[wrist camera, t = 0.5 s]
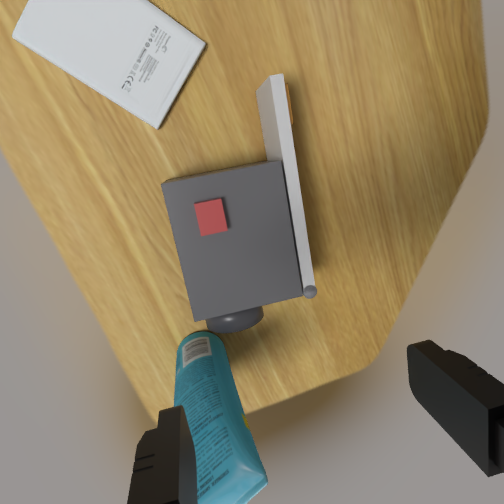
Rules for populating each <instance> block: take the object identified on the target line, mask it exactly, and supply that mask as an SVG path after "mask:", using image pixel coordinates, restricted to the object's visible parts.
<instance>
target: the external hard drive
mask: <svg viewBox="0 0 504 504" xmlns="http://www.w3.org/2000/svg"><path fill="white" fill-rule="evenodd" d="M12 37H13V38H14V39H15V40H16V41H18V42H19V43H21V44H22V45H24V46H26V47H27V48H29V49H30V50H32V51H33V52H35V53H37V54H38V55H40V56H41V57H43V58H45V59H46V60H48V61H49V62H51V63H53V64H54V65H56V66H57V67H59V68H61V69H62V70H64V71H65V72H67V73H68V74H70V75H72V76H73V77H75V78H76V79H78V80H79V81H81V82H83V83H84V84H86V85H87V86H89V87H91V88H92V89H94V90H95V91H97V92H98V93H100V94H102V95H103V96H105V97H106V98H108V99H110V100H111V101H113V102H114V103H116V104H117V105H119V106H121V107H122V108H124V109H125V110H127V111H129V112H130V113H132V114H133V115H135V116H136V117H138V118H140V119H141V120H143V121H144V122H146V123H148V124H149V125H151V126H152V127H154V128H155V129H157V130H158V129H159V127H160V125H161V123H162V122H163V120H164V118H165V116H166V115H167V113H168V111H169V109H170V107H171V106H172V104H173V102H174V100H175V99H176V97H177V95H178V93H179V91H180V89H181V87H182V86H183V84H184V82H185V81H186V79H187V77H188V76H189V74H190V72H191V70H192V69H193V67H194V65H195V63H196V62H197V60H198V58H199V56H200V55H201V53H202V51H203V49H204V48H205V44H206V43H205V42H203V41H202V40H201V39H199V38H198V37H197V36H195V35H194V34H192V33H191V32H190V31H188V30H187V29H186V28H184V27H183V26H182V25H180V24H179V23H177V22H176V21H175V20H173V19H172V18H171V17H169V16H168V15H167V14H165V13H164V12H163V11H161V10H160V9H159V8H157V7H156V6H154V5H153V4H152V3H150V2H149V1H148V0H29V1H28V3H27V5H26V7H25V9H24V10H23V13H22V15H21V17H20V19H19V20H18V23H17V25H16V27H15V29H14V31H13V34H12Z"/></svg>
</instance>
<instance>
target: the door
mask: <svg viewBox="0 0 504 504" xmlns="http://www.w3.org/2000/svg"><path fill="white" fill-rule="evenodd" d="M256 97H257V103H258V109H259V114H260V120H261V126H262V132H263V138H264V144H265V150H266V156H267V161H281V164H282V171H283V177H284V183H285V189H286V195H287V202H288V208H289V214H290V220H291V227H292V233H293V239H294V245H295V251H296V258H297V264H298V270H299V276H300V282H301V289H302V294H303V295H304V296H305V297H306V298H309V299H310V298H313V297H314V296H315V295H316V293H317V289H316V287H315V282H314V276H313V269H312V262H311V256H310V249H309V242H308V236H307V229H306V223H305V216H304V209H303V203H302V196H301V189H300V183H299V176H298V169H297V163H296V156H295V150H294V143H293V136H292V130H291V125H292V124H294V123H293V116H292V110H291V103H290V96H289V90H288V83H286V84H285V83H284V77H283V74H277V75H271V76H269V77H268V78H267V79H266V80H265V81H264V83H263V84H262V85H261V86H260V87H259V88H258V89H257V90H256Z"/></svg>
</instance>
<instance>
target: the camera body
mask: <svg viewBox="0 0 504 504" xmlns="http://www.w3.org/2000/svg"><path fill="white" fill-rule="evenodd" d="M161 187H162V191H163V195H164V199H165V203H166V207H167V211H168V215H169V219H170V223H171V227H172V231H173V236H174V240H175V244H176V248H177V252H178V256H179V260H180V264H181V268H182V272H183V276H184V280H185V285H186V289H187V293H188V297H189V301H190V305H191V309H192V313H193V317H194V321H195V322H196V321H200V320H206V324H207V328H208V329H209V330H211V331H213V332H216V333H232V332H238V331H242V330H245V329H247V328H250V327H252V326H254V325H255V324H257V323H258V322H259V321H261V319H262V318H263V316H264V313H263V308H262V306H263V305H267V304H271V303H275V302H280V301H284V300H288V299H292V298H296V297H300V296H303V295H302V289H301V282H300V276H299V270H298V264H297V258H296V251H295V245H294V239H293V233H292V227H291V220H290V214H289V208H288V202H287V195H286V189H285V183H284V177H283V171H282V164H281V161H262V162H257V163H252V164H247V165H242V166H237V167H231V168H226V169H221V170H216V171H211V172H206V173H201V174H196V175H191V176H185V177H180V178H175V179H170V180H166V181H165V182H163V183H162V184H161Z"/></svg>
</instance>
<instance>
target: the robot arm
mask: <svg viewBox="0 0 504 504" xmlns="http://www.w3.org/2000/svg"><path fill="white" fill-rule="evenodd" d="M407 360H408V373H409V383H410V388H411V390H412V393H413V395H414V396H415V398H416V399H417V401H418V402H419V403H420V404H421V405H422V406H423V407H424V408H425V409H426V410H427V412H428V413H429V414H430V415H431V416H432V417H433V418H434V419H435V420H436V421H437V422H438V423H439V424H440V426H441V427H442V428H443V429H444V430H445V431H446V432H447V433H448V434H449V435H450V436H451V437H452V438H453V439H454V441H455V442H456V443H457V444H458V445H459V446H460V447H461V448H462V449H463V450H464V451H465V452H466V453H467V455H468V456H469V457H470V458H471V459H472V460H473V461H474V462H475V463H476V464H477V465H478V466H479V468H480V469H481V470H482V471H483V472H484V473H485V474H486V475H487V476H488V477H490V476H493V475H496V474H500V473H504V384H503V383H501V382H500V381H499V380H497V379H496V378H494V377H493V376H492V375H490V374H488V373H487V372H486V371H485V370H484V369H482V368H481V367H478V366H477V364H475V363H474V362H473V361H471V360H469V359H468V358H467V357H466V356H464V355H461V354H459V353H456V352H454V351H451V350H446V351H445V350H443V349H442V348H441V347H439V346H438V345H437V344H435V343H434V342H433V341H431V340H426V341H422V342H418V343H414V344H411V345H409V346H408V347H407ZM127 504H198V499H197V466H196V454H195V448H194V443H193V439H192V436H191V432H190V429H189V425H188V422H187V418H186V414H185V411H184V408H183V406H182V405H179V406H175V407H171V408H168V409H164V410H160V411H159V418H158V427H157V428H156V429H152V430H149V431H146V432H145V433H144V435H143V436H142V438H141V440H140V441H139V443H138V445H137V449H136V454H135V462H134V466H133V474H132V478H131V484H130V490H129V496H128V501H127Z"/></svg>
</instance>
